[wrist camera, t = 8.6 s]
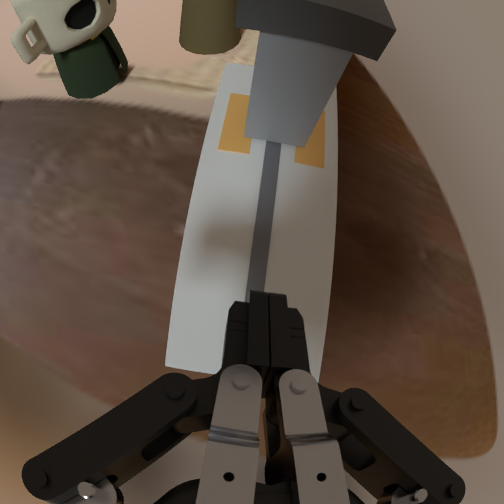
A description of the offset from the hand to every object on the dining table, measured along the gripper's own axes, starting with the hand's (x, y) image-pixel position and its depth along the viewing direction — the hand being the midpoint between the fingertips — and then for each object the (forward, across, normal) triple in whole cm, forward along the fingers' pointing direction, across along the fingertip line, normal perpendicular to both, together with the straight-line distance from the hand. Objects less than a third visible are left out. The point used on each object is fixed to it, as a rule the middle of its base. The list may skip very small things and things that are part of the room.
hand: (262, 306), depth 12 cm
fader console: (+9, 0, 0) cm, 9 cm away
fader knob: (+11, 0, -6) cm, 13 cm away
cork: (+22, +7, -12) cm, 26 cm away
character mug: (+17, +16, -8) cm, 25 cm away
